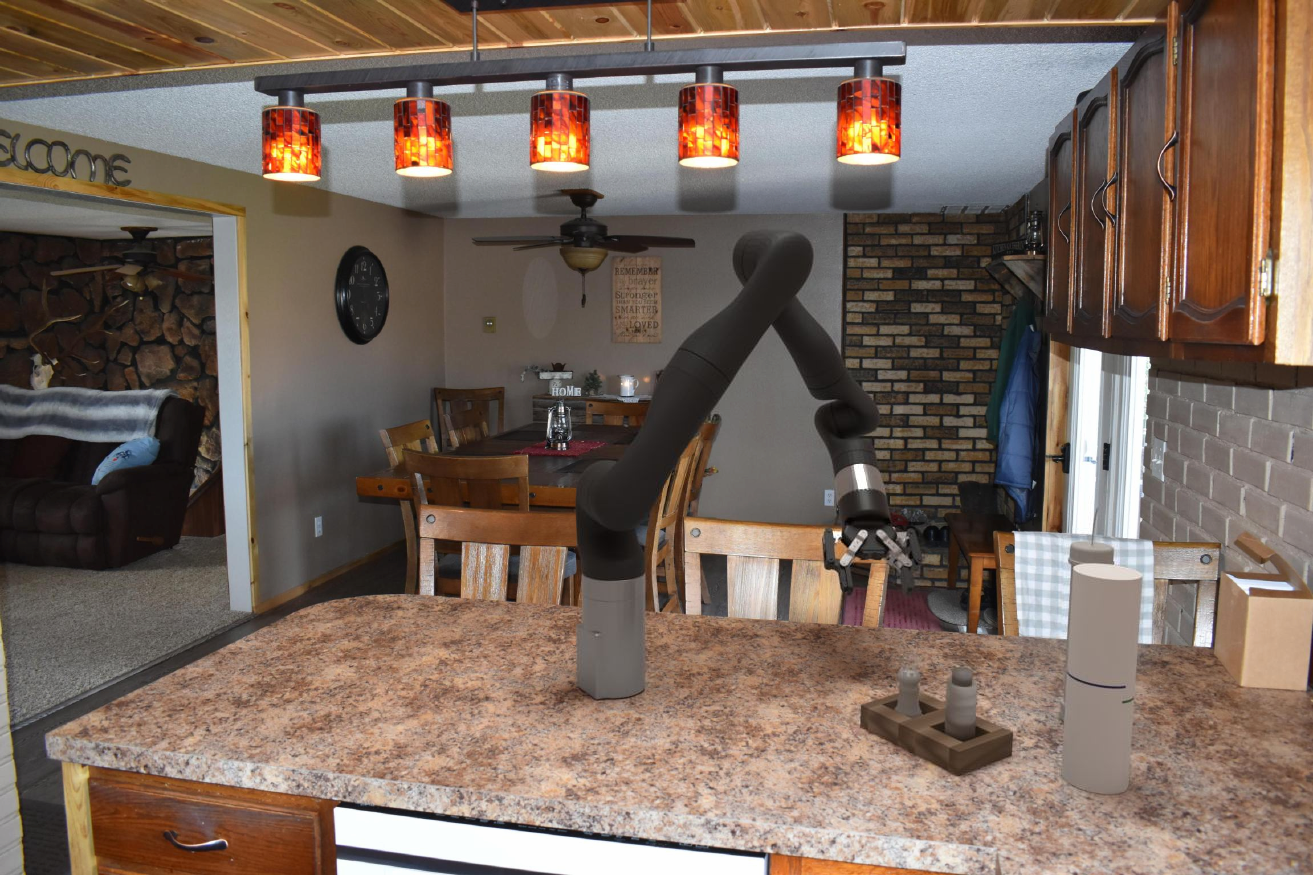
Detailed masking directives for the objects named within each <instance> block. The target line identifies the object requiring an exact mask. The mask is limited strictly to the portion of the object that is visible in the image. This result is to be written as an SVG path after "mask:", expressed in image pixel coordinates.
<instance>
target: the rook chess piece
mask: <svg viewBox="0 0 1313 875" xmlns="http://www.w3.org/2000/svg"><path fill="white" fill-rule="evenodd" d="M898 671H899V672H898V673H897V674H896V676H895V677H896V678H897V680H898V681H899V684H898V685H897V688H898V693H899V698H898V704H897V707H895V711H897V712H899V713H901V714H903V715H905V716H907V717H910V718H915V717H918V716H921V715H923V714H922V713H921V712H922V711H921V710H920V707H919V700H918V692H920V691H921V690H920V689H921V688H920V687H919V683H920V682H921V681H922V680H923V677H922V676H921V675H920V669H917V668H916V667H913V666H912V667H911V669H910V668H909V666H905V667H903V666H902V667H900V668H899V670H898Z"/></svg>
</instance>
